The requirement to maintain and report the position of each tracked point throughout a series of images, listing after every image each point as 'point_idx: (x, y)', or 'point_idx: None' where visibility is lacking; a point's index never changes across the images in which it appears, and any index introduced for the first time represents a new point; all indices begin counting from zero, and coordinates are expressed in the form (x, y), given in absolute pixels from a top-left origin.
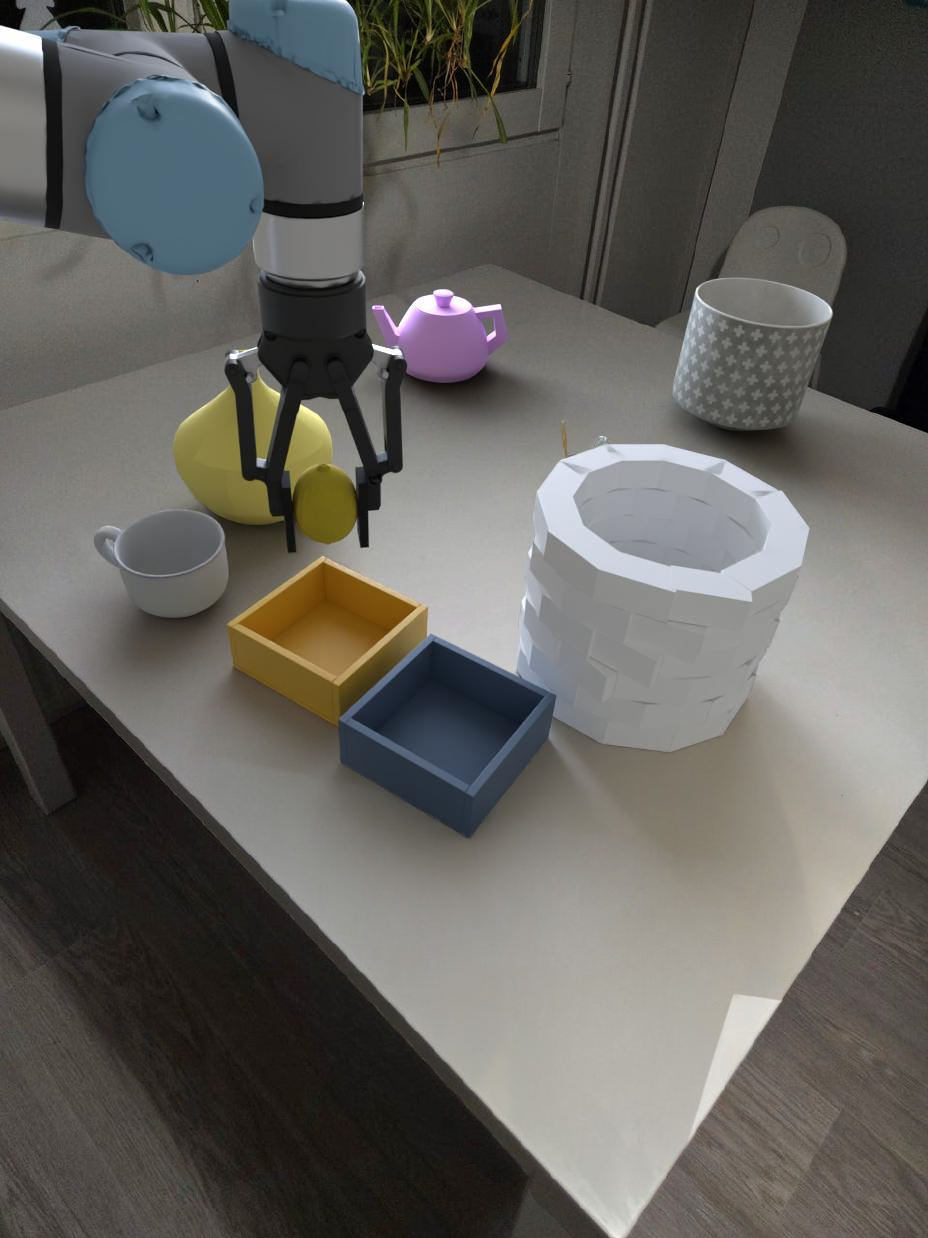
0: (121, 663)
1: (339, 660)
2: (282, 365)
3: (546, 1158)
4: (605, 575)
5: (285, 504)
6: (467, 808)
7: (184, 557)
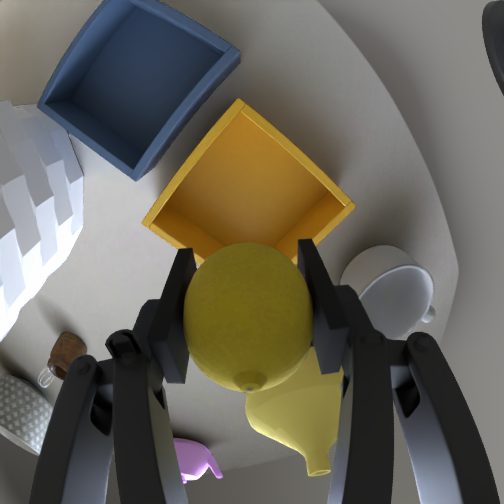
0: (415, 203)
1: (239, 183)
2: None
3: None
4: None
5: (333, 298)
6: None
7: (368, 308)
